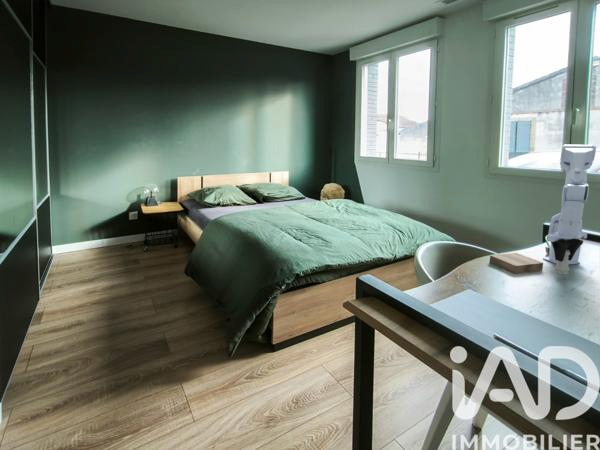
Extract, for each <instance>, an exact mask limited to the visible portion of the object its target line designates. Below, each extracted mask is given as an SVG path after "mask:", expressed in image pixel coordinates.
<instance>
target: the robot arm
mask: <svg viewBox="0 0 600 450" xmlns="http://www.w3.org/2000/svg"><path fill="white" fill-rule="evenodd" d="M596 151H597V146H596V145H595V144H566V143H565V144H563V145H562V147H561V153H560V161H559V165H560V168H561V169H563V170H564V171H565V174H566V175H565V182H564V185H563V187H562V192H561V209H560V212H559V213H557V214H555V215H553V216H552V217H551V219H550V223H549V228H548V234H547V238H546V240H547V241H549V242H550V247H549V253H548V254H549V255H548V256H544V257H542V260H545V261H548V262H550V263H553V264H555V265H557V263H558V261H560V262H562V261H563V259H564V256H565V252H566V250H567V251H568V250H569V251H570V255H569V256H568V257H569V258H568V266H570V265H577V264H580V263H581V262H580V261H579V259H580V253H581V246H582V245H583V244H584V239H587V238H588V232H585V231H583V220H582V218H583V213H584V207H585V204H586V202H587V201H588V197H589V191H590V190H589V189H590V188H589V183H588V182H587V181H588V173H587V171H586V170H589V169H591V166H593V162H594V160H595V157H596V154H597V153H596Z"/></svg>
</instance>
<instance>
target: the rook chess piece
mask: <svg viewBox="0 0 600 450" xmlns="http://www.w3.org/2000/svg"><path fill="white" fill-rule="evenodd" d="M569 255H570V251H569V250H568V251H567V250H566V252H565V256H564V259H563V261H562V262H560V261H558V263H557V264H555V266H554V267H553V268H554V269H553V271H554V273H556V274H557V275H558V274H559V275H564V276H565V275H569V273H570V271H571V269H570V268H569V265H568V258H569V257H568V256H569Z"/></svg>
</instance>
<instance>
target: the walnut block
mask: <svg viewBox="0 0 600 450" xmlns="http://www.w3.org/2000/svg"><path fill="white" fill-rule="evenodd" d="M489 264H491V265H493V266H495V267H496V268H497V267H498V268H500V269H502V270H505V271H507V272H508V273H509V272H510V273H511V274H514V275H518V274H524V273H525V274H528V273H532V272H533V273H535V272H542V271H543V267H544V262H543V261H539V260H537V259H533V258H531V257H529V256H526V255H523V254H520V253H517V252H511V253H501V254H492V255H491V254H490V256H489Z"/></svg>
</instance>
